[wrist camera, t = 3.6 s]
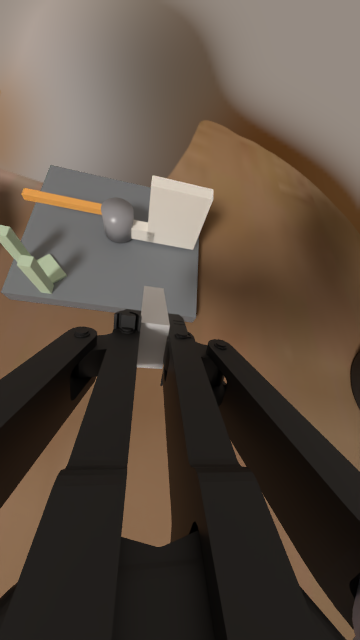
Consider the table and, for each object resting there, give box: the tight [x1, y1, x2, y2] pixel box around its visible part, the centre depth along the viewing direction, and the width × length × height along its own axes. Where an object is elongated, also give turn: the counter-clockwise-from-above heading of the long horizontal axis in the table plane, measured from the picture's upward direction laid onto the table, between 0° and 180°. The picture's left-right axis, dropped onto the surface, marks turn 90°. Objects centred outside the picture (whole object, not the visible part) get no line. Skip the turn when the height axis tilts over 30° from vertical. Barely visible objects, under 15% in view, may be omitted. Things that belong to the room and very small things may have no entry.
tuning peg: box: [22, 176, 213, 250], centre depth 27 cm, size 22×4×9 cm, turn 86°
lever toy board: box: [0, 165, 199, 322], centre depth 30 cm, size 24×22×8 cm
